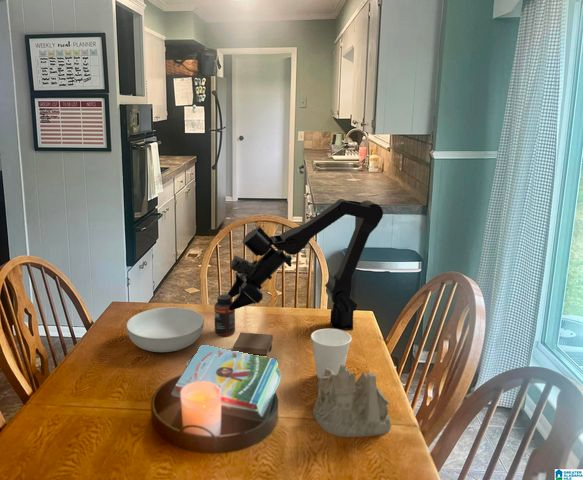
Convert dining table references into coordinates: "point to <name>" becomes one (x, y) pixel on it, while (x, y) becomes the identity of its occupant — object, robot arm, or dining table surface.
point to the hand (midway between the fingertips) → (228, 303)
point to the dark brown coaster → (253, 343)
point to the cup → (330, 349)
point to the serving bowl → (165, 328)
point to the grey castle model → (351, 404)
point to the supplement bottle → (224, 316)
